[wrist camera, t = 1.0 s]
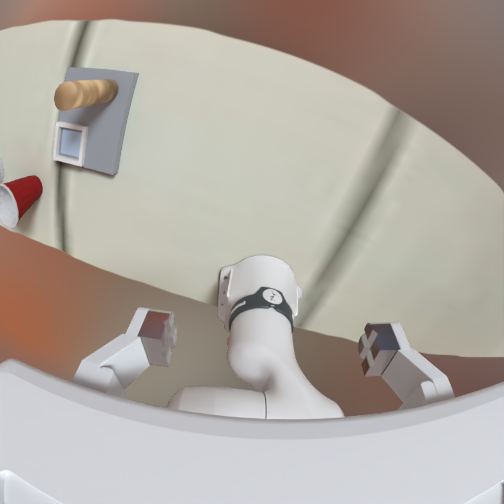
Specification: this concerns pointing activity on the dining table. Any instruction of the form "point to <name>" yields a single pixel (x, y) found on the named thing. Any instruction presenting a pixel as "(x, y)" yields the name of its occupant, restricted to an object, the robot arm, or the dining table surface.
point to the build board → (95, 124)
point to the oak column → (85, 93)
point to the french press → (1, 172)
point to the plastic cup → (18, 198)
